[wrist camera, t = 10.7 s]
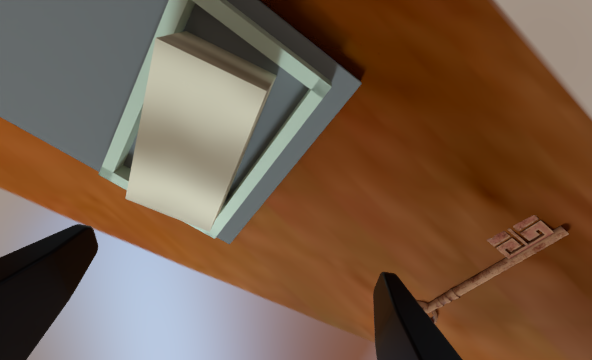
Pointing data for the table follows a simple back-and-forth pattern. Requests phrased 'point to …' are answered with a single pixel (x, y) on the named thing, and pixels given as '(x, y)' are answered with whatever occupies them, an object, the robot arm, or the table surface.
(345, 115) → the table surface
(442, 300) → the key
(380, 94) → the table surface
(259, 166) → the tray frame
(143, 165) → the card box
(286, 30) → the mat
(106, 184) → the table surface
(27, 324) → the robot arm
